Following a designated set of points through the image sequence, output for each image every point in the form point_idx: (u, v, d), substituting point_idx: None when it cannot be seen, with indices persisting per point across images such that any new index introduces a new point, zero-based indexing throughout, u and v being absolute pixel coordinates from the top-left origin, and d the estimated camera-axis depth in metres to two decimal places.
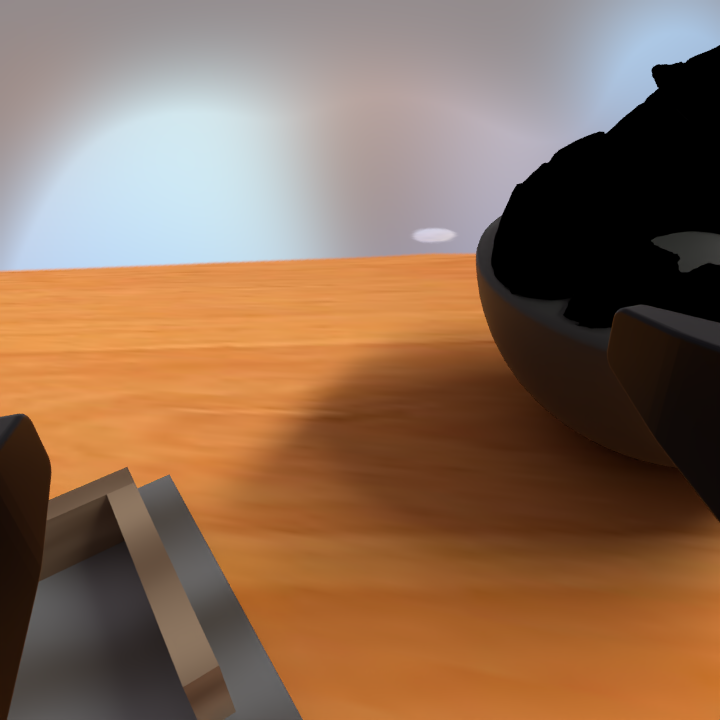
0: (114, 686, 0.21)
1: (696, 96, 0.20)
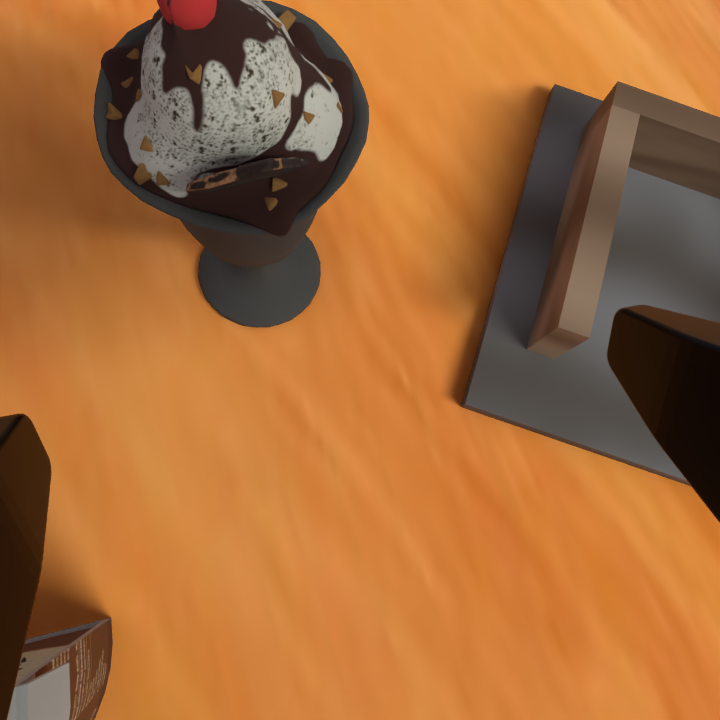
0: None
1: None
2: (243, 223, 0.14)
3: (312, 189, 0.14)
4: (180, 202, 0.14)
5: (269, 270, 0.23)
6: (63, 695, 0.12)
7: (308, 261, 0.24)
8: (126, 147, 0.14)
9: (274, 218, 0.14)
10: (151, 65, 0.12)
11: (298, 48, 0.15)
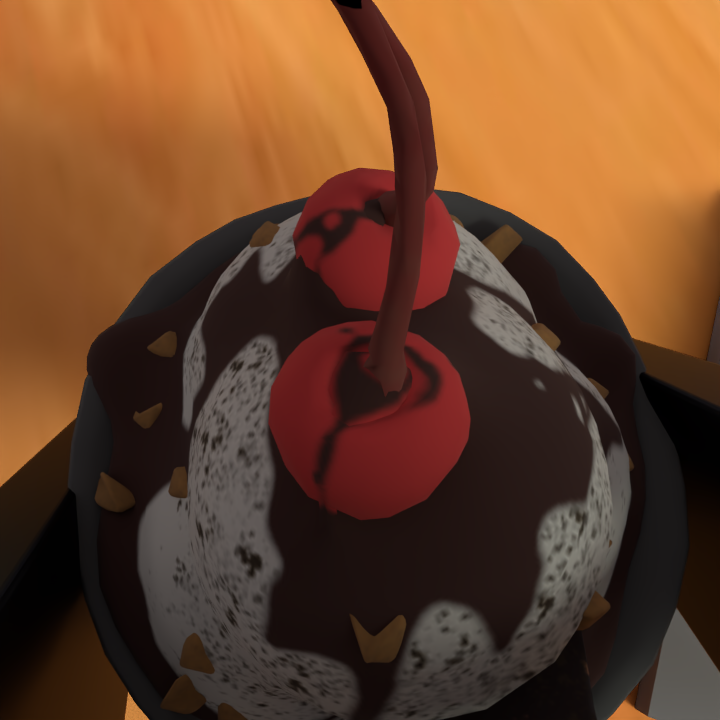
0: None
1: None
2: None
3: None
4: None
5: None
6: None
7: None
8: (143, 607, 0.05)
9: None
10: (232, 563, 0.04)
11: None
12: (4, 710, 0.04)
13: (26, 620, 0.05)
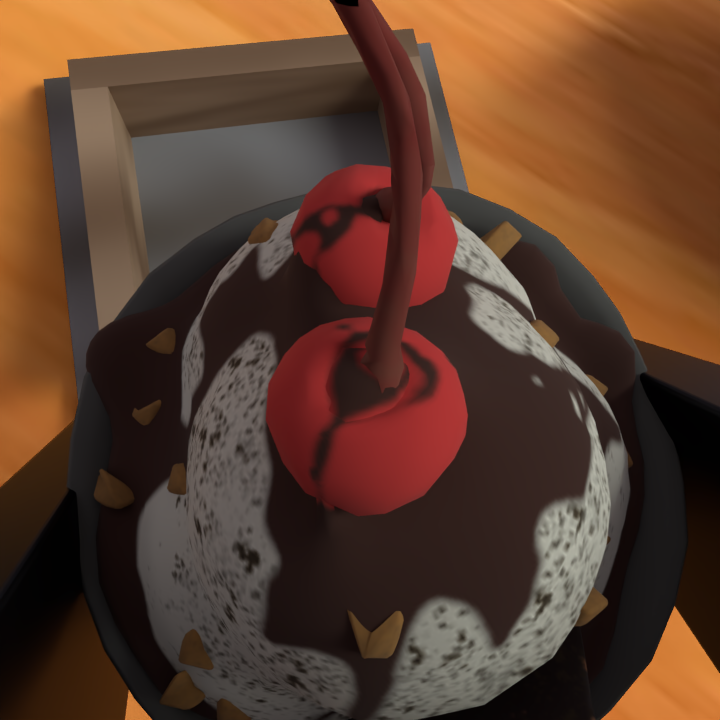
0: None
1: None
2: None
3: None
4: None
5: None
6: None
7: None
8: (142, 604, 0.05)
9: None
10: (231, 558, 0.04)
11: None
12: (5, 710, 0.04)
13: (27, 620, 0.05)
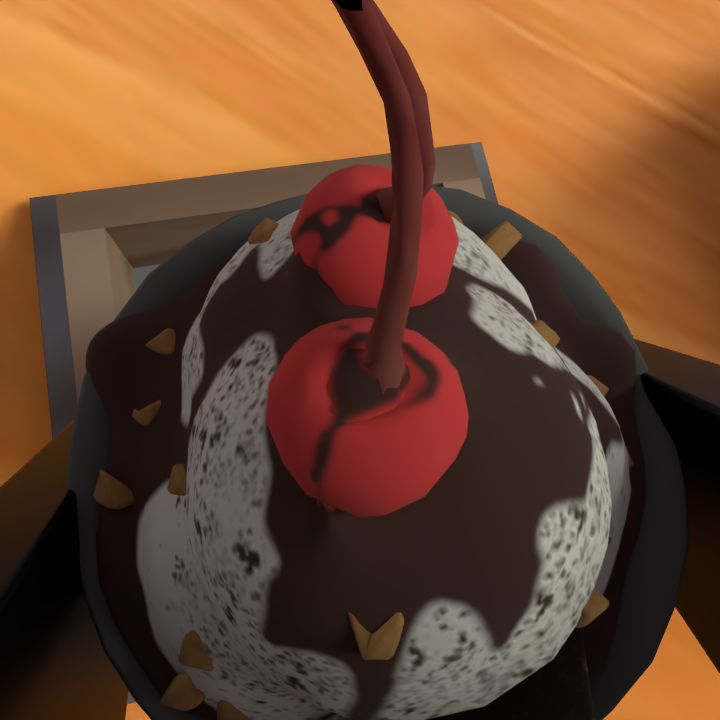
0: None
1: None
2: None
3: None
4: None
5: None
6: None
7: None
8: (142, 604, 0.05)
9: None
10: (231, 559, 0.04)
11: None
12: (5, 709, 0.04)
13: (27, 620, 0.05)
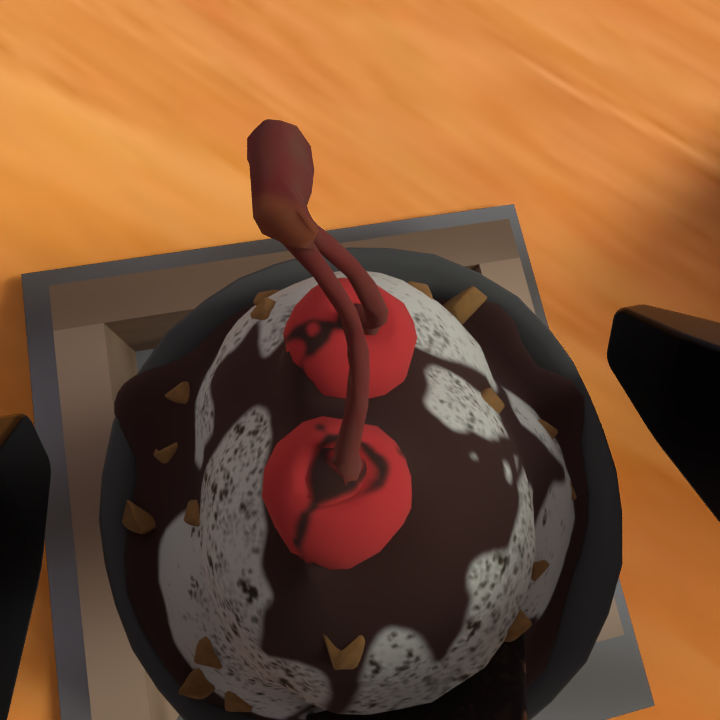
0: None
1: None
2: None
3: None
4: None
5: None
6: None
7: None
8: (163, 613, 0.07)
9: None
10: (235, 591, 0.05)
11: (486, 352, 0.08)
12: None
13: None
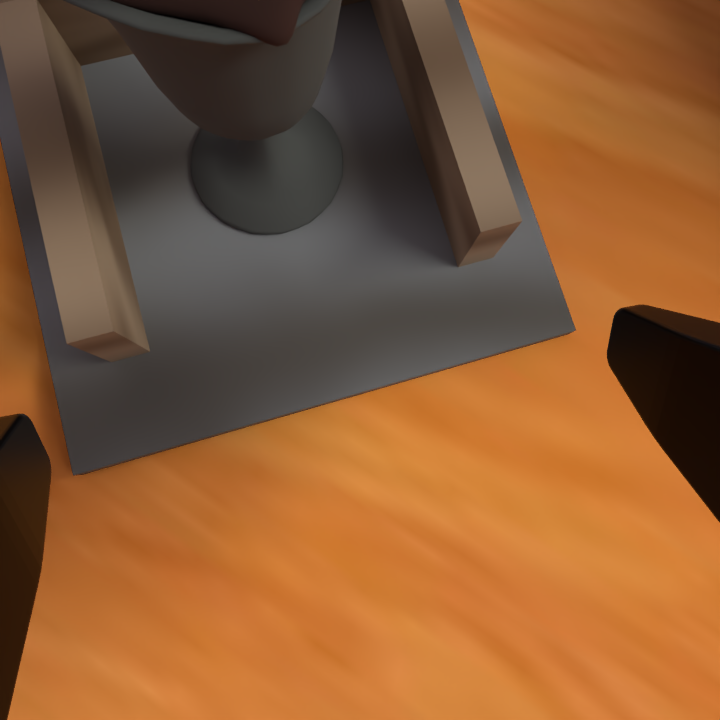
0: (363, 187, 0.19)
1: None
2: (220, 28, 0.09)
3: None
4: None
5: (277, 157, 0.18)
6: None
7: (327, 146, 0.19)
8: None
9: (267, 12, 0.09)
10: None
11: None
12: None
13: None
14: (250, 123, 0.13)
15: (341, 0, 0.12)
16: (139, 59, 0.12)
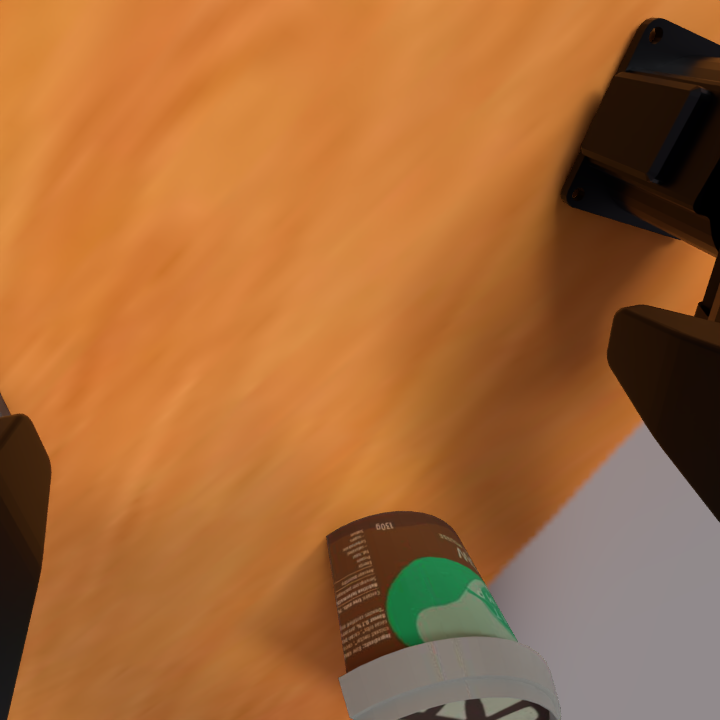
0: None
1: None
2: None
3: None
4: None
5: None
6: (353, 677, 0.22)
7: None
8: None
9: None
10: None
11: None
12: None
13: None
14: None
15: None
16: None
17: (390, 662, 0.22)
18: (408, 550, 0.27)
